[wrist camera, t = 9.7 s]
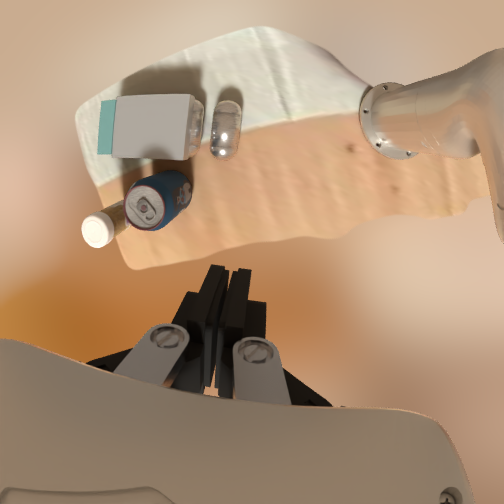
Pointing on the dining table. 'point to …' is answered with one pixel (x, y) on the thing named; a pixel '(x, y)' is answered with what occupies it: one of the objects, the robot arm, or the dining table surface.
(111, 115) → the block
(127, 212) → the soda can
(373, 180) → the dining table surface
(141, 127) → the slab
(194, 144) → the roller mid
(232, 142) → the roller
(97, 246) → the sprinkles bottle
